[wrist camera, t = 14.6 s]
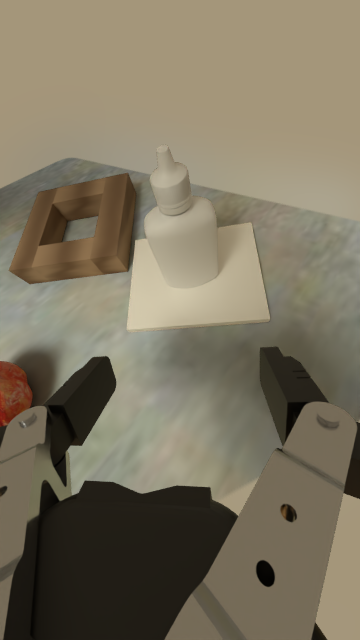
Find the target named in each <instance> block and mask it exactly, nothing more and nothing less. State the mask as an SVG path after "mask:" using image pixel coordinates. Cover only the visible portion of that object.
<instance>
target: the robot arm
mask: <svg viewBox="0 0 360 640" xmlns="http://www.w3.org/2000/svg"><path fill="white" fill-rule="evenodd" d="M260 381H261V386H262V389H263V392H264V395H265V398H266V400H267V403H268V406H269V409H270V412H271V415H272V417H273V420H274V423H275V426H276V429H277V432H278V434H279V437H280V440H281V443H282V446H283V448H282V449H279V448H277V449H275V451H274V452H273V453H272V455H271V457H270V459H269V461H268V463H267V464H266V466H265V468H264V470H263V472H262V474H261V476H260V477H259V479H258V481H257V483H256V485H255V487H254V489H253V491H252V492H251V494H250V496H249V498H248V500H247V501H246V503H245V505H244V507H243V509H242V511H241V513H240V514H239V516H238V515H236V514H235V513H234V512H233V511H231V510H230V509H229V508H227V507H225V506H224V505H222V504H220V503H218V502H216V501H213V500H212V496H211V489H210V487H193V486H173V487H169V488H165V489H161V490H157V491H153V492H149V493H144V494H140V493H137V492H135V491H133V490H130V489H128V488H126V487H123V486H121V485H119V484H116V483H114V482H100V481H84V483H83V485H82V487H81V489H80V491H79V493H78V494H75V495H72V492H71V475H70V457H69V453H68V451H67V450H68V448H69V447H70V445H73V446H82V444H83V443H84V441H85V439H86V438H87V436H88V434H89V433H90V431H91V429H92V428H93V426H94V424H95V423H96V421H97V419H98V418H99V416H100V414H101V413H102V411H103V409H104V408H105V406H106V404H107V403H108V401H109V399H110V398H111V396H112V394H113V393H114V391H115V388H116V378H115V375H114V372H113V369H112V365H111V362H110V359H109V358H108V357H107V356H103V357H93V358H91V359H90V360H89V362H88V363H87V364H86V365H85V366H84V367H83V368H81V369H80V370H78V371H77V372H75V373H74V374H73V375H72V376H71V377H70V378H69V380H68V381H66V382H65V383H64V384H63V386H61V388H60V389H59V390H58V391H57V392H56V393H55V394H54V395H53V396H52V397H51V398H50V399H49V400H48V401H47V402H46V403H45V404H44V405H43V406H35V407H32V408H29V409H27V410H25V411H23V412H22V413H20V414H19V415H17V416H16V417H15V418H13V419H12V420H11V421H10V423H9V424H8V425H5V426H1V427H0V640H327V639H326V637H325V636H324V635H323V633H322V631H321V630H320V628H319V627H318V626H317V624H316V623H315V620H316V615H317V611H318V606H319V602H320V597H321V592H322V588H323V583H324V579H325V574H326V570H327V565H328V561H329V556H330V552H331V547H332V542H333V538H334V533H335V529H336V524H337V519H338V515H339V511H340V506H341V502H342V497H343V493H345V494H347V495H351V496H353V497H356V498H359V499H360V423H358V422H355V420H354V419H353V417H352V416H351V415H350V414H349V413H347V412H346V411H345V410H343V409H341V408H340V407H338V406H335V405H333V404H330V403H329V402H328V401H327V399H326V398H325V396H324V395H323V394H322V392H321V391H320V389H319V388H318V387H317V385H316V384H315V382H314V381H313V380H312V379H311V378H310V376H309V374H308V373H307V372H306V370H305V369H304V367H303V366H302V364H301V363H300V362H298V361H297V360H295V359H294V358H292V357H291V356H290V357H283V355H282V353H281V352H280V350H279V348H278V347H263V348H260Z"/></svg>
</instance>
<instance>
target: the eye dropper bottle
mask: <svg viewBox="0 0 360 640" xmlns="http://www.w3.org/2000/svg"><path fill="white" fill-rule="evenodd" d="M156 153H157V163H158V168H156V169H155V170H154V171H153V173H152V174H151V177H150V184H151V187H152V190H153V193H154V196H155V199H156V202H157V206H156V207H155V208H153V209H152V210H151V211H150V212H149V213H148V214H147V215H146V217H145V220H144V228H145V235H146V238H147V240H148V243H149V245H150V248H151V250H152V252H153V254H154V256H155V259H156V261H157V263H158V265H159V268H160V270H161V272H162V274H163V276H164V279H165V281H166V283H167V285H169V286H170V287H174V288H192V287H196V286H200V285H202V284H205V283H207V282H209V281H211V280H212V279H214V278H215V277H216V276H217V275H218V237H217V219H216V213H215V210H214V207H213V204H212V203H211V201H210V200H208V199H206V198H203V197H198V196H192V195H191V188H190V182H189V175H188V170H187V168H186V166H185V165H183V164H181V163H178V162H174V160H173V158H172V155H171V152H170V150H169V147H168V146H167V145H161V146H159V147H158V148H157V149H156Z"/></svg>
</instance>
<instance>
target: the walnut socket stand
mask: <svg viewBox="0 0 360 640" xmlns="http://www.w3.org/2000/svg"><path fill="white" fill-rule="evenodd" d="M135 200H136V192H135V189H134V187H133V184H132V182H131V179H130V177H129V174H128V173H125V174H120V175H115V176H111V177H106V178H102V179H97V180H92V181H88V182H83V183H78V184H74V185H69V186H65V187H60V188H55V189H51V190H46V191H41V192H39V193H38V195H37V198H36V200H35V203H34V206H33V208H32V211H31V213H30V216H29V219H28V221H27V224H26V227H25V229H24V232H23V234H22V237H21V240H20V242H19V245H18V248H17V250H16V253H15V255H14V258H13V261H12V263H11V266H10V269H9V271H10V272H12V273H13V274H15V275H16V276H18V277H20V278H21V279H23V280H24V281H26V282H27V283H29V284H34V283H42V282H49V281H57V280H65V279H73V278H80V277H88V276H96V275H103V274H111V273H119V272H127V271H128V265H129V256H130V247H131V237H132V228H133V219H134V210H135ZM98 215H99V216H98ZM93 216H98V220H97V225H96V230H95V235H94V237H91V238H85V239H79V240H73V241H67V242H62V239H63V235H64V232H65V228H66V225H67V221H71V220H76V219H82V218H87V217H93Z"/></svg>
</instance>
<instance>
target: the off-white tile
mask: <svg viewBox="0 0 360 640" xmlns="http://www.w3.org/2000/svg"><path fill="white" fill-rule="evenodd" d="M217 237H218V275H217V276H216V277H215V278H214V279H212V280H211V281H209V282H207V283H205V284H202V285H200V286H196V287H192V288H174V287H170V286H169V285H167V283H166V281H165V279H164V276H163V274H162V272H161V270H160V268H159V265H158V263H157V261H156V259H155V256H154V254H153V252H152V250H151V248H150V245H149V243H148V240H147V239H140V240H135V250H134V261H133V271H132V281H131V291H130V301H129V312H128V322H127V331H129V332H142V331H155V330H169V329H182V328H195V327H208V326H222V325H235V324H248V323H261V322H269V320H270V315H269V310H268V304H267V299H266V294H265V289H264V284H263V279H262V274H261V269H260V264H259V259H258V254H257V249H256V243H255V238H254V233H253V228H252V223H251V222H250V223H243V224H237V225H230V226H224V227H217Z"/></svg>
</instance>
